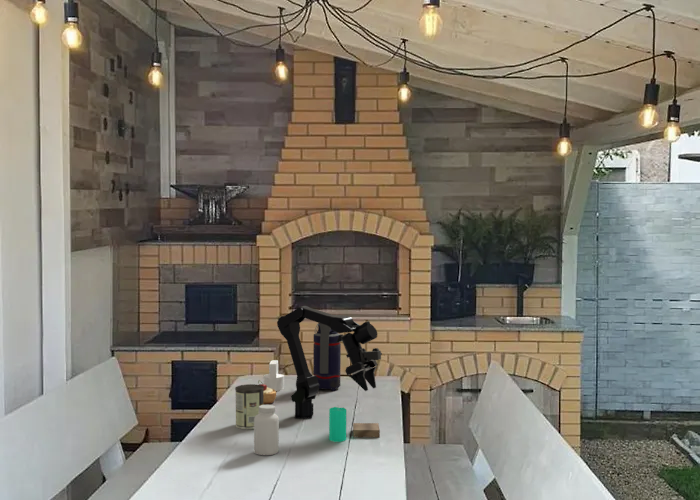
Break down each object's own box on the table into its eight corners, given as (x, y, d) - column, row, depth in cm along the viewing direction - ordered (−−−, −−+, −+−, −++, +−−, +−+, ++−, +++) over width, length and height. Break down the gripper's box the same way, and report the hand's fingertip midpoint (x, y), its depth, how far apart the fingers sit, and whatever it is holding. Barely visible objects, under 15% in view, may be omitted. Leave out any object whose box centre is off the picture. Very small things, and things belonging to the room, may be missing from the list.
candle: (344, 442, 271) (344, 407, 270) (327, 441, 272) (327, 406, 271) (348, 437, 276) (348, 403, 276) (331, 436, 278) (331, 402, 277)
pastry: (257, 407, 317) (257, 385, 317) (241, 402, 326) (241, 380, 326) (282, 403, 325) (282, 381, 325) (265, 397, 334) (265, 376, 334)
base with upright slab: (283, 391, 345) (283, 364, 344) (262, 391, 345) (262, 364, 345) (284, 387, 354) (285, 360, 353) (264, 387, 354) (264, 360, 354)
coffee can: (251, 420, 298) (251, 382, 297) (269, 425, 291) (269, 387, 290) (229, 425, 290) (229, 387, 290) (247, 431, 283) (247, 391, 283)
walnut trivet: (353, 437, 277) (353, 430, 277) (353, 430, 286) (353, 423, 286) (379, 437, 277) (379, 430, 277) (378, 430, 286) (378, 423, 286)
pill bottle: (282, 450, 261) (282, 404, 261) (272, 457, 254) (272, 410, 253) (260, 447, 264) (260, 402, 263) (249, 454, 256) (249, 408, 256)
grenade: (315, 385, 359) (316, 318, 357) (342, 386, 357) (342, 319, 355) (310, 392, 345) (310, 322, 343) (337, 393, 343) (337, 323, 342)
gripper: (364, 341, 280) (382, 383, 277) (381, 339, 297) (397, 378, 294) (337, 353, 283) (354, 395, 280) (355, 351, 300) (371, 389, 297)
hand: (370, 389), depth 288 cm, fingers open, 9 cm apart
